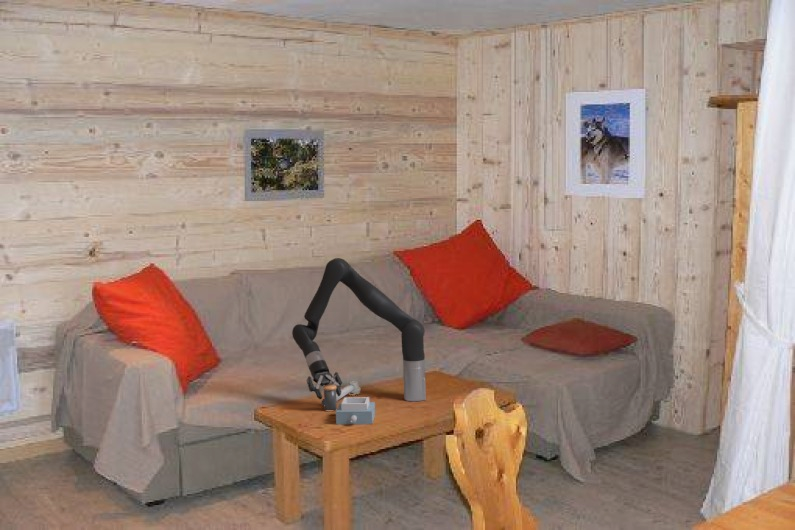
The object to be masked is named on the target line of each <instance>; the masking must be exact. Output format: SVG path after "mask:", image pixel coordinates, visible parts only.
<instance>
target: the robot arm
mask: <svg viewBox="0 0 795 530" xmlns="http://www.w3.org/2000/svg"><path fill="white" fill-rule="evenodd" d="M340 282H341V284H343V285H345V286H346V287H347V288H349V290H351V292H352V293H353V294H354V295H355V297H356V298H357V299H358V301H360V303H361V304H362V305H363V306H364V307H365V308H367V309H368V310H369V311H370V312H371V313H373V314H375V316H377V317H380V318H381V319H382V320H385V321H386V322H389V323H391V324H392V325H393V326H394V327H395V328H396V329H398V330H399V331H400V332H401V337H400V338H401V354H402V369H403V371H402V372H403V376H402V377H403V399H404V400H405V401H408V402H421V401H426V399H427V398H426V397H427V394H426V391H427V390H426V385H427V384H426V367H425V365H426V363H425V362H426V361H425V356H426V355H425V349H424V348H425V347H424V336H425V333H426V332H425V328H424V325H423V323H421V322H420V321H418V320H417V319H416V318H414V317H412V316H411V315H410V314H407V313H406V312H405V311H404V310H403V309H401V308H400V307H399V306H398V305H397V304H396V303H395V302H394V301H393V300H392V299H390V298H389V296H387V295H386V294H385V293H383V292H382V291H381V290H380V289H379V288H378V287H376V286H375V285H374V284H372V282H370V281H368V280H367V279H366V278H364V277H363V276H361V275H360V274H359V273H358V271H356V270H355V269H354V268H353V267H352V266H351V264H349V263H348V262H347V260H345V259H344V258H340V257H335V258H333V259H331V260H329V261H328V262H327V264H326V265H325V269H324V271H323V275H322V278H321V281H320V283H319V285H318V286H319V287H318V288H317V290H316V292H315V294H314V296H313V297H312V299H311V301H310V303H309V305H308V306H307V309H306V311H305V313H304V315H303V318H304V319H305V320H306V321H307V325H305V324H300V323H297V324H295V325H294V326H293V328H292V331H291V333H292V334H291V335H292V338H293V340H294V342H295V343H296V345H297V346H298V348H300V350H301V351H302V353H303V356H304V358H305V362H306V365H307V368H308V369H309V372H310V374H311V376H307V379H306V384H307V387H308V390H309V392H314V393H315V395H316V398H318V399H319V400H323V395H322V391H321V389H320V387H323V386H325V385H336V387H337V389H336V393H337V395H338V396H340V395H341V390H340V389H341V388H342V387H341V386H342V384H343V381H342V379H341V377H340V375H339V373H338V372H337V371H335V373H331V372H330V370H329V367H328V365H327V362H326V359H325V357H324V356H323V354H322V352H321V349H320V346H319V345H318V343H317V342H316V341H314V340H315V339H316V337H317V334H318V331H319V330H318V329H319V324H320V321H321V318H322V317H323V315H324V313H325V311H326V309H327V306H328V305H329V301H330V299H331V296H332V294H333V292H334V291H335V288H337V286H338V284H339V283H340ZM314 383H316V384H315V386H314Z"/></svg>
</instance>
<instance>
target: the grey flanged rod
mask: <svg viewBox="0 0 795 530" xmlns="http://www.w3.org/2000/svg"><path fill="white" fill-rule="evenodd" d="M361 389H362V388H361V386H359V382H358V381H357V380H352V381H350V382H349V384H348V385H346V386H344V387H341V388H340V390H341V395H340V396H338V395H337V393H336V400H337V402H338V401H339V400H341V399H343V398H344V397H346V395H349V393H350V394H358V393H360V394H361ZM320 402H321V405H322V406H323V405H324V398H322V399H321V401H320Z"/></svg>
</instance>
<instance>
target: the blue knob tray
mask: <svg viewBox="0 0 795 530" xmlns="http://www.w3.org/2000/svg"><path fill="white" fill-rule="evenodd" d="M375 416H376V402H375V401H370V396H367V397H365V396H364V397H362V396H360V397H358V396H349V397H347V396H344V397H343V398H342V401H341V402H339V404H338V406H337V410H336V411H335V424H336V425H373V424H374V423H373V422H374V419H375Z"/></svg>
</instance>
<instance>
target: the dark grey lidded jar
mask: <svg viewBox="0 0 795 530" xmlns="http://www.w3.org/2000/svg"><path fill="white" fill-rule="evenodd" d="M322 387H323V397H324V398H323V399H324V405H325V407H324V411H325V410H336V409H337V408H338V406H337V405H338V401H337V400H336V389H337V387H336V385H324V386H322Z"/></svg>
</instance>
